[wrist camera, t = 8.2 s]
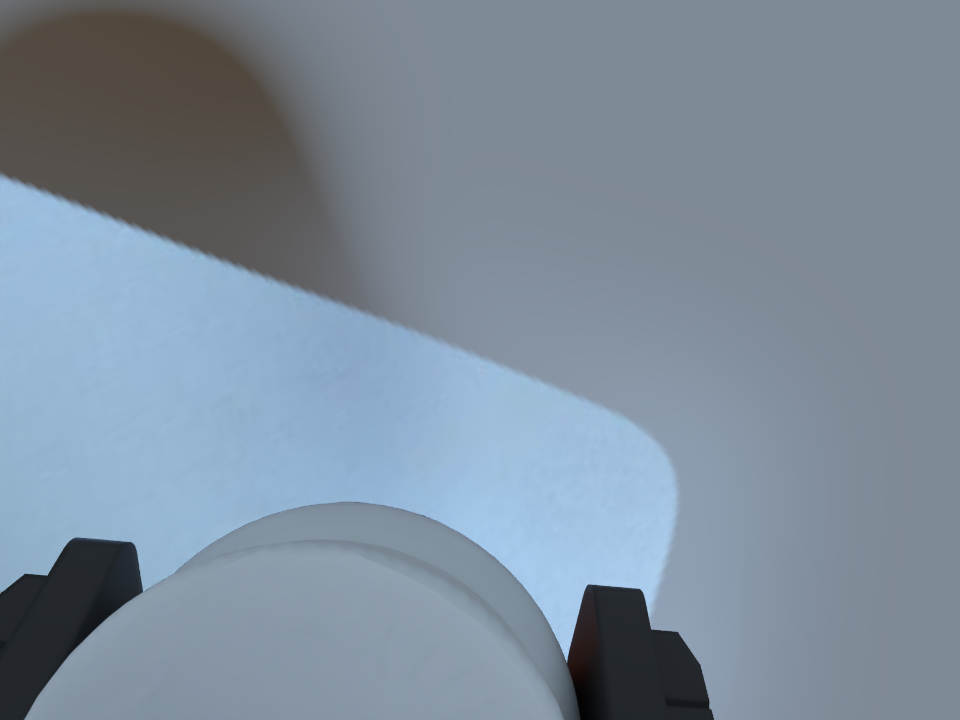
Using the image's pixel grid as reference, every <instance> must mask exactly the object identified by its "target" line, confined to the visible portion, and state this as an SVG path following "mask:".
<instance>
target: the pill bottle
mask: <svg viewBox="0 0 960 720" xmlns="http://www.w3.org/2000/svg"><path fill="white" fill-rule="evenodd" d="M24 720H580V712H579V707H578V702H577V697H576V693H575V689H574V685H573V681H572V678H571V674H570V671H569V668H568V665H567V662H566V660H565V657H564V655H563V652H562V650H561V647H560V645H559V643H558V641H557V639H556V637H555V635H554V633H553V631H552V629H551V627H550V625H549V623H548V621H547V620H546V618H545V616H544V614H543V613H542V611H541V610H540V608H539V607H538V605H537V604H536V603H535V601H534V600H533V598H532V597H531V595H530V594H529V593H528V592H527V590H526V589H525V588H524V587H523V585H522V584H521V583H520V582H519V581H518V580H517V579H516V578H515V577H514V576H513V575H512V573H511V572H510V571H509V570H508V569H507V568H506V567H504V566H503V565H502V564H501V563H500V562H499V561H498V560H497V559H496V558H495V557H493V556H492V555H491V554H489V553H488V552H487V551H486V550H484V549H483V548H482V547H480V546H479V545H478V544H476V543H475V542H473V541H472V540H470V539H469V538H467V537H466V536H464V535H463V534H461V533H459V532H457V531H455V530H453V529H451V528H450V527H448V526H446V525H444V524H442V523H440V522H438V521H436V520H433V519H430V518H428V517H425V516H423V515H419V514H416V513H412V512H409V511H406V510H402V509H398V508H393V507H388V506H384V505H376V504H369V503H359V502H338V503H327V504H316V505H310V506H303V507H299V508H294V509H290V510H286V511H282V512H278V513H275V514H272V515H268V516H265V517H263V518H261V519H258V520H256V521H253V522H251V523H248V524H246V525H244V526H242V527H240V528H238V529H236V530H234V531H232V532H231V533H229V534H227V535H225V536H224V537H222V538H220V539H218V540H217V541H215V542H213V543H212V544H210V545H209V546H208V547H206V548H205V549H203V550H202V551H200V552H199V553H197V554H196V555H195V556H194V557H192V558H191V559H190V560H189V561H188V562H186V563H185V564H184V565H183V566H181V567H180V568H179V569H178V570H177V571H176V572H175V573H174V574H172V575H171V576H169V577H167V578H165V579H164V580H162V581H160V582H158V583H157V584H155V585H153V586H152V587H150V588H148V589H147V590H145V591H144V592H142V593H141V594H139V595H138V596H136V597H135V598H133V599H132V600H130V601H129V602H127V603H126V604H125V605H123V606H122V607H121V608H119V609H118V610H117V611H116V612H114V613H113V614H112V615H110V616H109V617H108V618H107V619H106V620H105V621H104V622H102V623H101V624H100V625H99V626H98V627H97V628H96V629H95V630H94V631H93V632H92V633H91V634H90V635H89V636H88V637H87V638H86V639H85V640H84V641H83V642H82V643H81V644H80V645H79V646H78V647H77V648H76V649H75V650H74V651H73V652H72V653H71V654H70V655H69V656H68V657H67V659H66V660H65V661H64V662H63V664H62V665H61V666H60V667H59V669H58V670H57V671H56V673H55V674H54V675H53V677H52V678H51V679H50V681H49V682H48V683H47V685H46V686H45V687H44V689H43V690H42V691H41V693H40V694H39V695H38V697H37V698H36V700H35V702H34V704H33V705H32V707H31V709H30V711H29V712H28V714H27V716H26V718H25V719H24Z"/></svg>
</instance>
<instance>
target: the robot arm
mask: <svg viewBox="0 0 960 720" xmlns="http://www.w3.org/2000/svg"><path fill="white" fill-rule="evenodd" d="M142 592H143V589H142V583H141V576H140V570H139V563H138V557H137V551H136V548H135V545H134V544H133V543H131V542H122V541H111V540H100V539H88V538H73V539H72V540H70V541H69V542H68V544H67V545H66V546H65V548H64V549H63V551H62V552H61V554H60V556H59V557H58V559H57V561H56V562H55V564H54V566H53V567H52V569H51V571H50V572H49V574H48V576H45V575H34V574H24V575H23V576H22V577H21V578H19V579H18V580H17V581H16V582H14V583H13V584H12V585H11V586H9V587H8V588H7V589H6V590H4V591H3V592H2V593H1V594H0V720H24V719H25V718H26V716H27V714H28V712H29V711H30V709H31V707H32V705H33V704H34V702H35V700H36V698H37V697H38V695H39V694H40V693H41V691H42V690H43V689H44V687H45V686H46V685H47V683H48V682H49V681H50V679H51V678H52V677H53V675H54V674H55V673H56V671H57V670H58V669H59V667H60V666H61V665H62V664H63V662H64V661H65V660H66V659H67V657H68V656H69V655H70V654H71V653H72V652H73V651H74V650H75V649H76V648H77V647H78V646H79V645H80V644H81V643H82V642H83V641H84V640H85V639H86V638H87V637H88V636H89V635H90V634H91V633H92V632H93V631H94V630H95V629H96V628H97V627H98V626H99V625H100V624H101V623H102V622H104V621H105V620H106V619H107V618H108V617H109V616H110V615H112V614H113V613H114V612H116V611H117V610H118V609H119V608H121V607H122V606H123V605H125V604H126V603H127V602H129V601H130V600H132V599H133V598H135V597H136V596H138V595H139V594H141V593H142ZM567 665H568V668H569V671H570V674H571V678H572V681H573V685H574V689H575V693H576V697H577V702H578V707H579V712H580V720H714V718H713V714H712V710H711V709H709V698H708V694H707V690H706V686H705V682H704V678H703V674H702V670H701V666H700V664H699V662H698V661H697V660H696V658H695V657H694V655H693V654H692V652H691V651H690V649H689V648H688V646H687V645H686V644H685V642H684V641H683V639H682V638H681V636H680V635H679V633H678V632H672V631H661V630H651V627H650V622H649V617H648V612H647V607H646V602H645V597H644V595H643V592H642V591H641V590H640V589H634V588H623V587H611V586H600V585H587V587H586V589H585V591H584V595H583V599H582V603H581V607H580V611H579V615H578V619H577V623H576V627H575V630H574V634H573V638H572V642H571V646H570V650H569V655H568V660H567Z"/></svg>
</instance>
